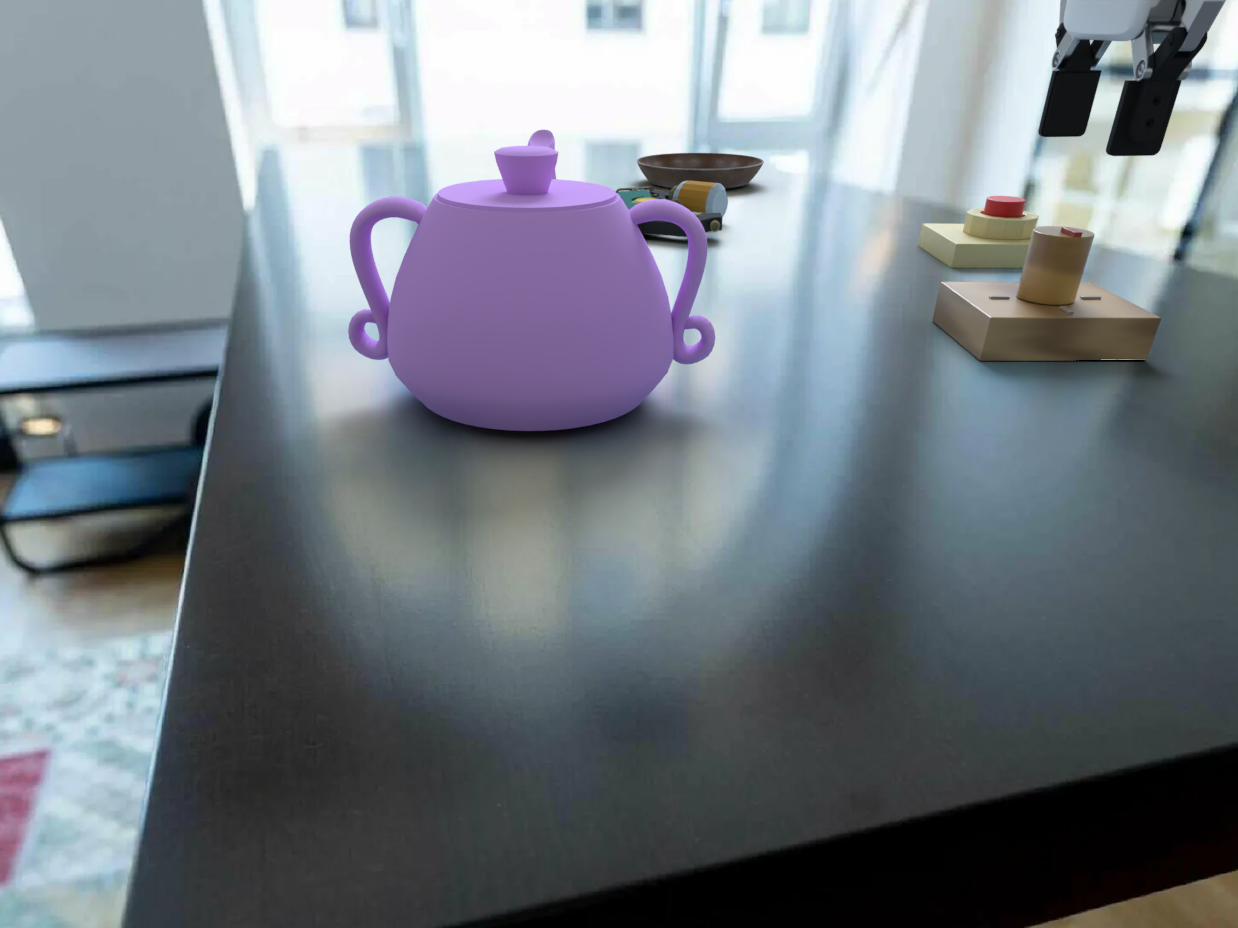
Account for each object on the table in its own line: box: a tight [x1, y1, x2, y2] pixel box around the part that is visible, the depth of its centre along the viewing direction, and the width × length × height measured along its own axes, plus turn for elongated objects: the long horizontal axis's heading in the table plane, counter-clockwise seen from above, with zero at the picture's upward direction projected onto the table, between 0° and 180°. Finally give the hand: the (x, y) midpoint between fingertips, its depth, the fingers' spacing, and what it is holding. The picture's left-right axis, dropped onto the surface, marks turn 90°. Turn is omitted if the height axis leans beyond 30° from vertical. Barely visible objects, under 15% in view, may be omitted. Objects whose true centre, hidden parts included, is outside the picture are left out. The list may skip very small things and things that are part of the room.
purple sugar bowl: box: [347, 129, 716, 432], centre depth 54 cm, size 22×22×14 cm
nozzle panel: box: [931, 281, 1162, 362], centre depth 67 cm, size 12×10×3 cm
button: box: [983, 195, 1027, 218], centre depth 88 cm, size 4×4×2 cm
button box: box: [917, 207, 1041, 269], centre depth 90 cm, size 12×10×4 cm
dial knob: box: [1016, 225, 1096, 305], centre depth 65 cm, size 4×4×5 cm
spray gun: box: [615, 181, 729, 238], centre depth 100 cm, size 4×17×15 cm
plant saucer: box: [636, 152, 765, 190], centre depth 127 cm, size 18×18×3 cm
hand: (1093, 145), depth 61 cm, fingers open, 9 cm apart
